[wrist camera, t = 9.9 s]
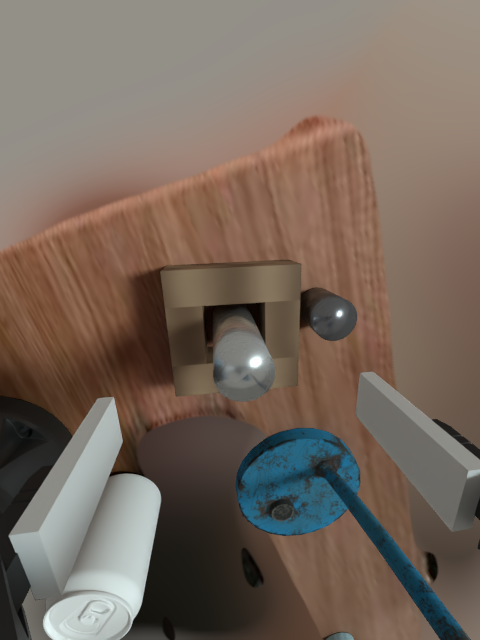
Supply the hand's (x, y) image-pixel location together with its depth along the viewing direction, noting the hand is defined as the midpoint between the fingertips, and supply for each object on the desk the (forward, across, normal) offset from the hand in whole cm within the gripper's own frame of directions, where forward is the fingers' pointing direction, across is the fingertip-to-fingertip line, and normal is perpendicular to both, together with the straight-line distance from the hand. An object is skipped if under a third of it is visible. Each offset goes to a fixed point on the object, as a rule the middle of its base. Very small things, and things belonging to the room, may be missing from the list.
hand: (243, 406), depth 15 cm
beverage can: (+16, -13, -22) cm, 30 cm away
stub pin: (+15, +10, +1) cm, 18 cm away
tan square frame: (+15, +1, 0) cm, 15 cm away
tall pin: (+15, +1, 0) cm, 15 cm away
